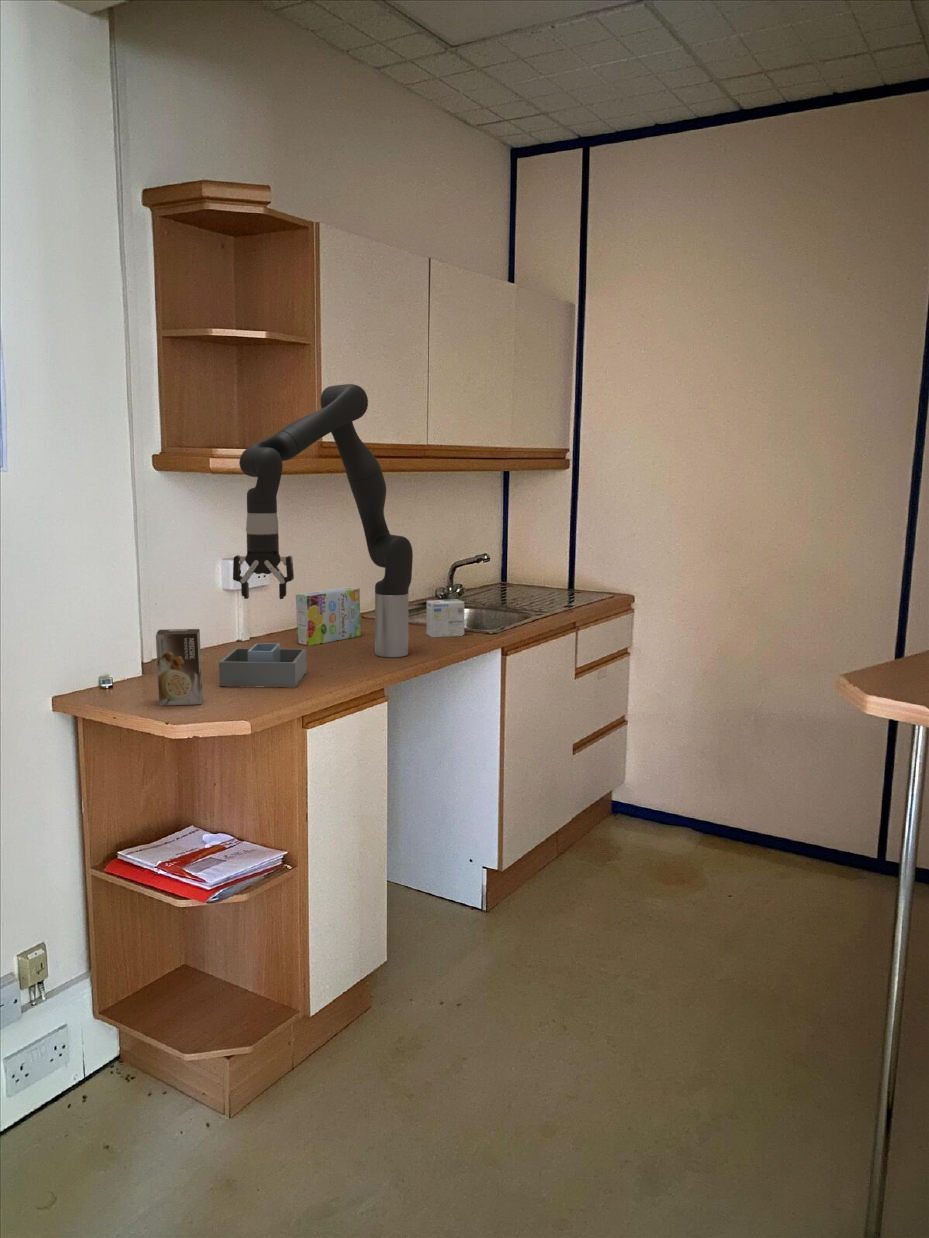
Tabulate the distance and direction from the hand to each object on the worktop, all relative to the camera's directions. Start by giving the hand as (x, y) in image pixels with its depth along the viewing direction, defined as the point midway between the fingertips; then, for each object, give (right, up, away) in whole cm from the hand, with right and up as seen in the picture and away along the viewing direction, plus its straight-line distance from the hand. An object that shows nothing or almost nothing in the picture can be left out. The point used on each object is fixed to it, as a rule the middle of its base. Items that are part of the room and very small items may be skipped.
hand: (264, 598), depth 237 cm
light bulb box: (+43, -10, +65) cm, 79 cm away
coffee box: (-14, -24, -20) cm, 34 cm away
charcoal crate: (0, -20, +3) cm, 20 cm away
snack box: (+8, -12, +55) cm, 56 cm away
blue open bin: (0, -19, +3) cm, 19 cm away
